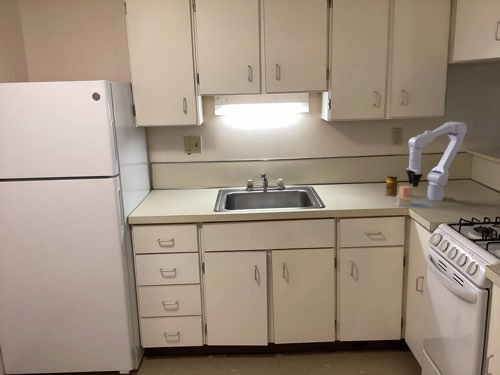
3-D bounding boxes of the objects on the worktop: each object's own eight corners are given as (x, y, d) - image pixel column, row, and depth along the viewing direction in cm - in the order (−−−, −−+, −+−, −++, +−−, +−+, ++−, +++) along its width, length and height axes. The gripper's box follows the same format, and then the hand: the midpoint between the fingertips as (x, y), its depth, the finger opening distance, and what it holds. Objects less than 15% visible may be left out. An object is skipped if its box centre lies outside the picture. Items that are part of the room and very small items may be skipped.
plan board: (392, 202, 228) (393, 200, 228) (427, 203, 226) (427, 201, 226) (398, 208, 217) (398, 206, 217) (434, 209, 215) (434, 207, 215)
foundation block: (396, 202, 225) (396, 195, 224) (407, 202, 225) (408, 195, 224) (398, 205, 219) (399, 197, 219) (410, 205, 219) (411, 198, 218)
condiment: (382, 196, 244) (383, 175, 241) (393, 194, 248) (394, 174, 245) (391, 198, 238) (393, 177, 235) (402, 197, 241) (404, 176, 239)
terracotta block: (398, 195, 224) (399, 186, 223) (406, 194, 225) (407, 185, 224) (403, 197, 220) (403, 187, 219) (411, 196, 220) (411, 187, 219)
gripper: (403, 157, 230) (402, 182, 233) (410, 162, 216) (409, 188, 219) (417, 157, 229) (415, 182, 232) (425, 162, 215) (423, 188, 218)
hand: (413, 185), depth 225 cm, fingers open, 7 cm apart
